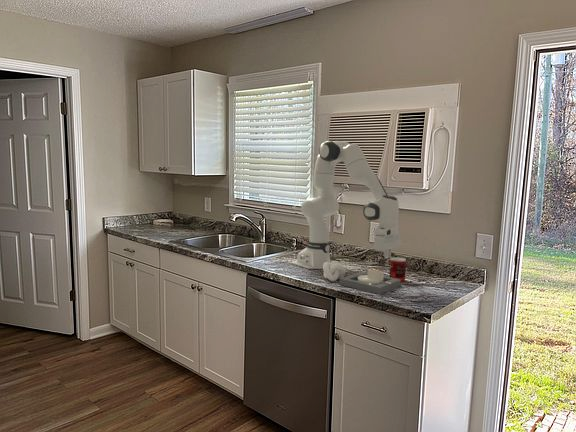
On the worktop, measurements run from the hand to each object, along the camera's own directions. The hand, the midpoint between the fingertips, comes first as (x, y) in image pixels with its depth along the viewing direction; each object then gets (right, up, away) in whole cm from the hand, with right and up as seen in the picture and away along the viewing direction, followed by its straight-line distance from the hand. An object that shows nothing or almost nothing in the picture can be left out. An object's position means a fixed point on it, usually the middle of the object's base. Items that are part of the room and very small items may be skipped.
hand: (387, 258), depth 215 cm
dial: (-8, -12, +1) cm, 14 cm away
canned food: (+7, -13, +12) cm, 19 cm away
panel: (-8, -13, +1) cm, 16 cm away
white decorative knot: (-26, -12, +10) cm, 30 cm away
